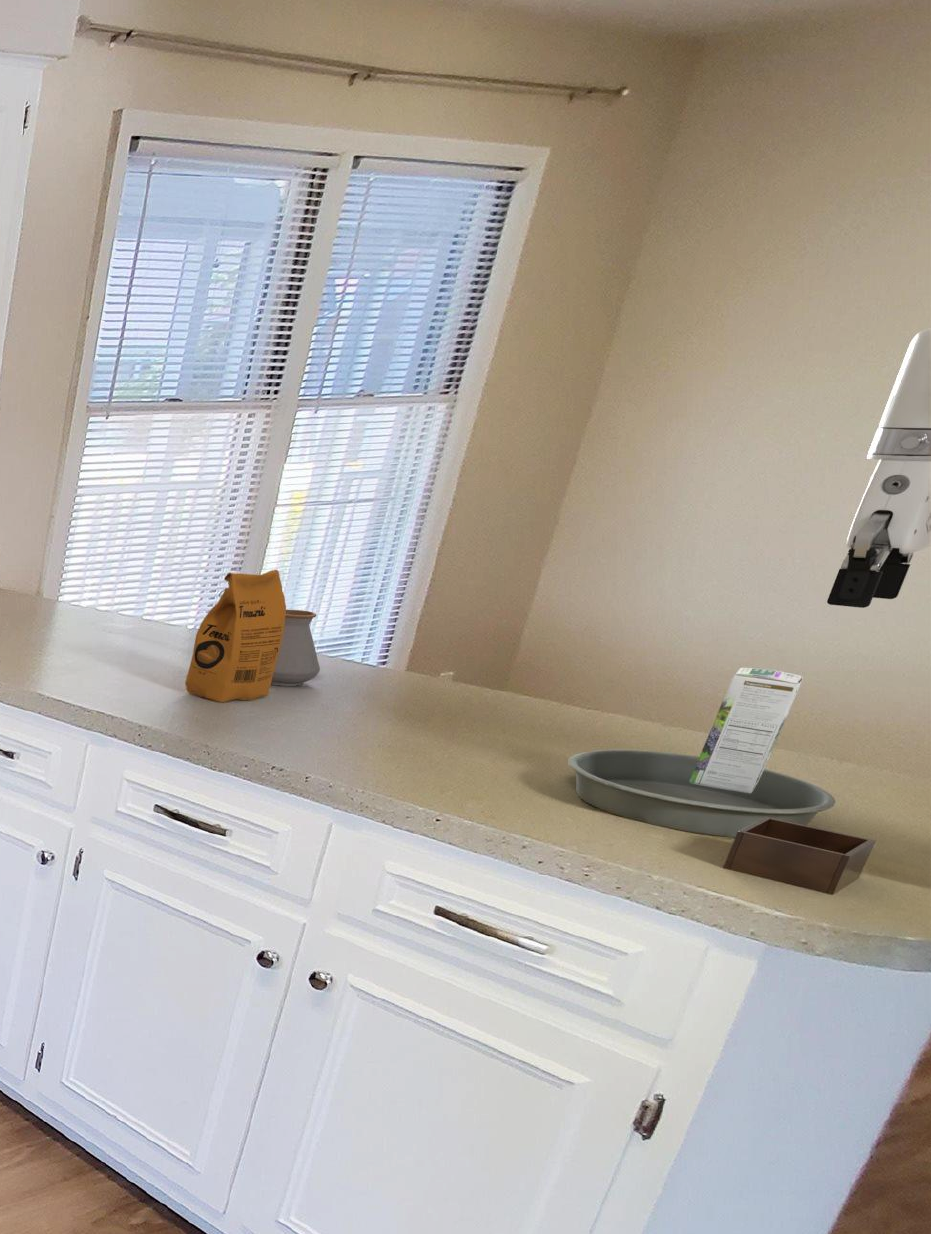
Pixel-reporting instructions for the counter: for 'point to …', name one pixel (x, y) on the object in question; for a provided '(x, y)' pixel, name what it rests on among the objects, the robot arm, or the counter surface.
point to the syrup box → (746, 729)
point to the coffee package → (239, 640)
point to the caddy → (799, 855)
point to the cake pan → (688, 793)
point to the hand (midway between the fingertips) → (861, 601)
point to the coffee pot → (296, 651)
